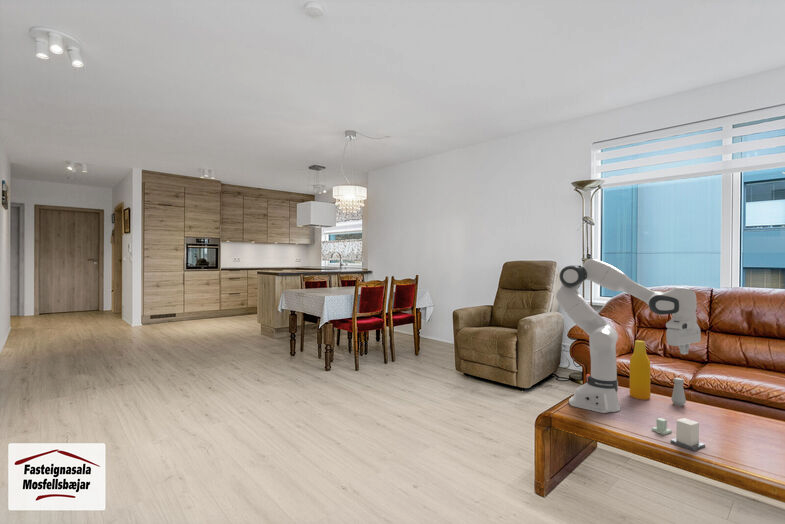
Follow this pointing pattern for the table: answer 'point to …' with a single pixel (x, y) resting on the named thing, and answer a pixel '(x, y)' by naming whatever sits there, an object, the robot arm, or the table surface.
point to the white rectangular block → (687, 431)
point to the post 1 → (662, 427)
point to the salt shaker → (678, 392)
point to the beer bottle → (640, 372)
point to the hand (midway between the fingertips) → (684, 353)
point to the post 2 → (693, 448)
